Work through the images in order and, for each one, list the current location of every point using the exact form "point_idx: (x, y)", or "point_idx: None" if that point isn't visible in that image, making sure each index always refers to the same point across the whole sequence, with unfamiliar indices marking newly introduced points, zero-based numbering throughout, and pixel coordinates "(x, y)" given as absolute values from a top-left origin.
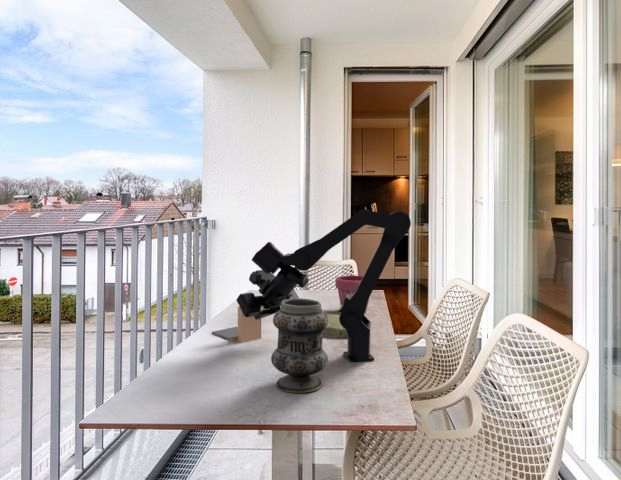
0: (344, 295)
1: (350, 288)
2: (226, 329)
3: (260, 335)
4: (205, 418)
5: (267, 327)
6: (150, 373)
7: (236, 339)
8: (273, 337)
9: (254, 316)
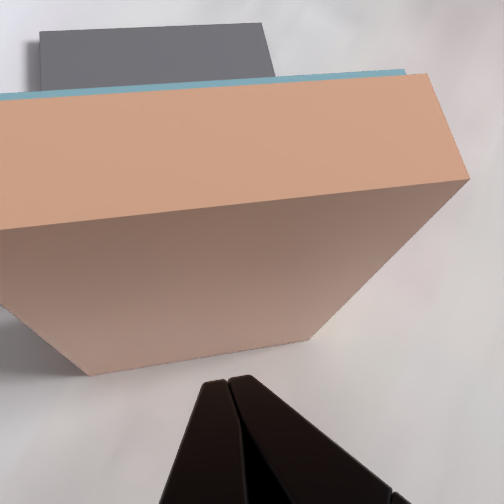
0: None
1: None
2: (163, 40)
3: (306, 336)
4: None
5: (466, 127)
6: None
7: None
8: (410, 386)
9: (199, 392)
